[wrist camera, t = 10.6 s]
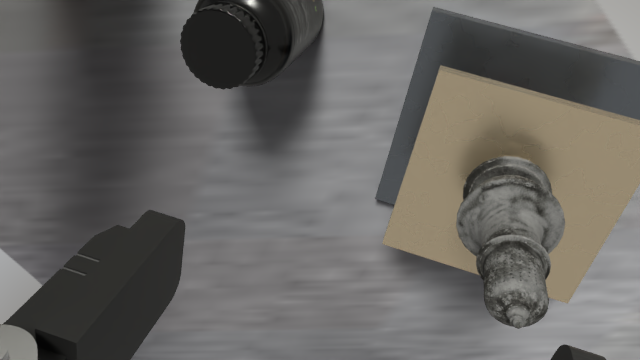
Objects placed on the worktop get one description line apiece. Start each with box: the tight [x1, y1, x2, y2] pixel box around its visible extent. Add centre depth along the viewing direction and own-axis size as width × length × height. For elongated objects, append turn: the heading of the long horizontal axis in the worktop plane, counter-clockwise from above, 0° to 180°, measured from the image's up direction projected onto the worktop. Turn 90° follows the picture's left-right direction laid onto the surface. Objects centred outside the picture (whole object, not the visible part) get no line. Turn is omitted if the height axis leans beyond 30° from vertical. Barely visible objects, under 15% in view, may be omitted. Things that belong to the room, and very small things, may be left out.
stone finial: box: [456, 156, 565, 329], centre depth 29 cm, size 6×6×12 cm
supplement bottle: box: [180, 0, 323, 89], centre depth 36 cm, size 7×7×12 cm
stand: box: [375, 7, 640, 303], centre depth 38 cm, size 16×16×9 cm
